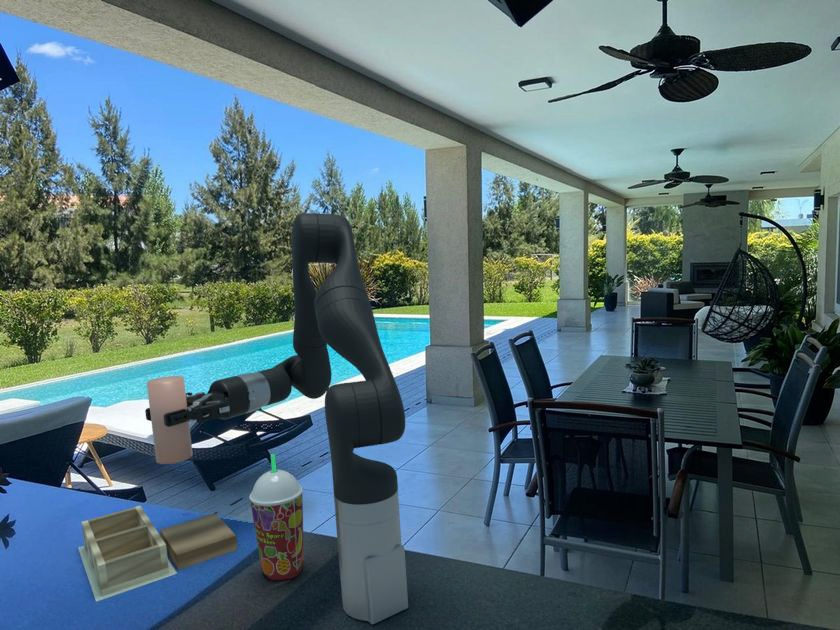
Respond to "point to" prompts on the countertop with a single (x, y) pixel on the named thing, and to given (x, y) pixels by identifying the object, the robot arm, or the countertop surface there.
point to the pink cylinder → (163, 399)
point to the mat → (99, 596)
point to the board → (198, 540)
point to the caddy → (124, 549)
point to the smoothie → (278, 523)
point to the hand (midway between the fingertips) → (156, 417)
